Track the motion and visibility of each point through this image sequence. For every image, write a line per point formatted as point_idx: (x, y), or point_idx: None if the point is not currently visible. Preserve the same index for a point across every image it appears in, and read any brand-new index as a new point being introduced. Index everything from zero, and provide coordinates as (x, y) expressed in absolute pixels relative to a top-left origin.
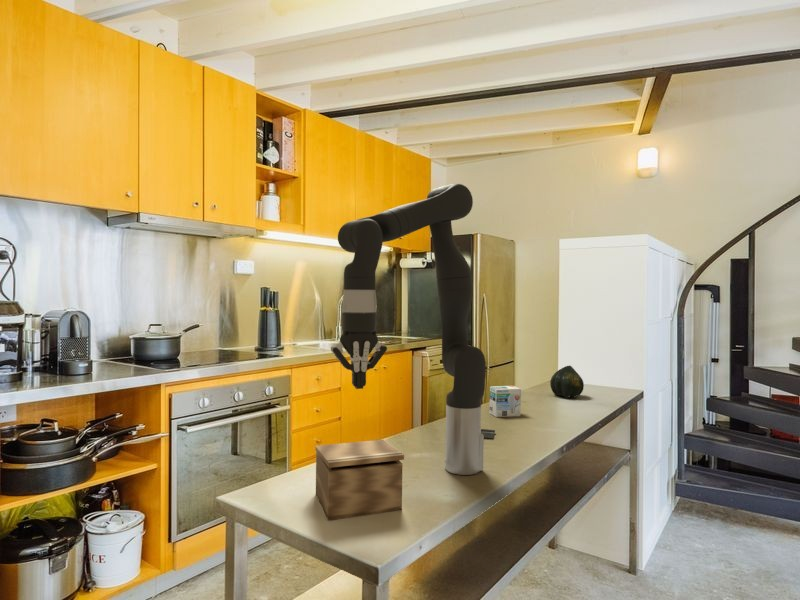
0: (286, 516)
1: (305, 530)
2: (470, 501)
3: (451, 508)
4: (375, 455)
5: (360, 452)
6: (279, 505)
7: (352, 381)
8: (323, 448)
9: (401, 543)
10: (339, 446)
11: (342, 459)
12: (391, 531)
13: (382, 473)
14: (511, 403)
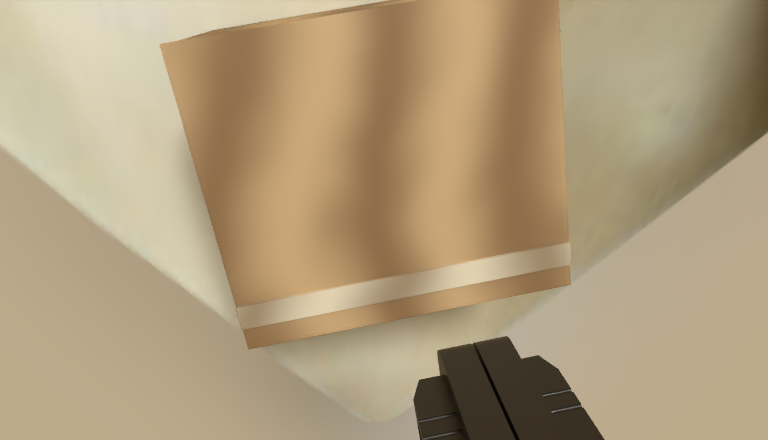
0: (133, 199)
1: (207, 287)
2: (708, 166)
3: (633, 205)
4: (452, 287)
5: (396, 219)
6: (89, 113)
7: (420, 433)
8: (211, 113)
9: None
10: (299, 87)
11: (307, 315)
12: None
13: None
14: None
